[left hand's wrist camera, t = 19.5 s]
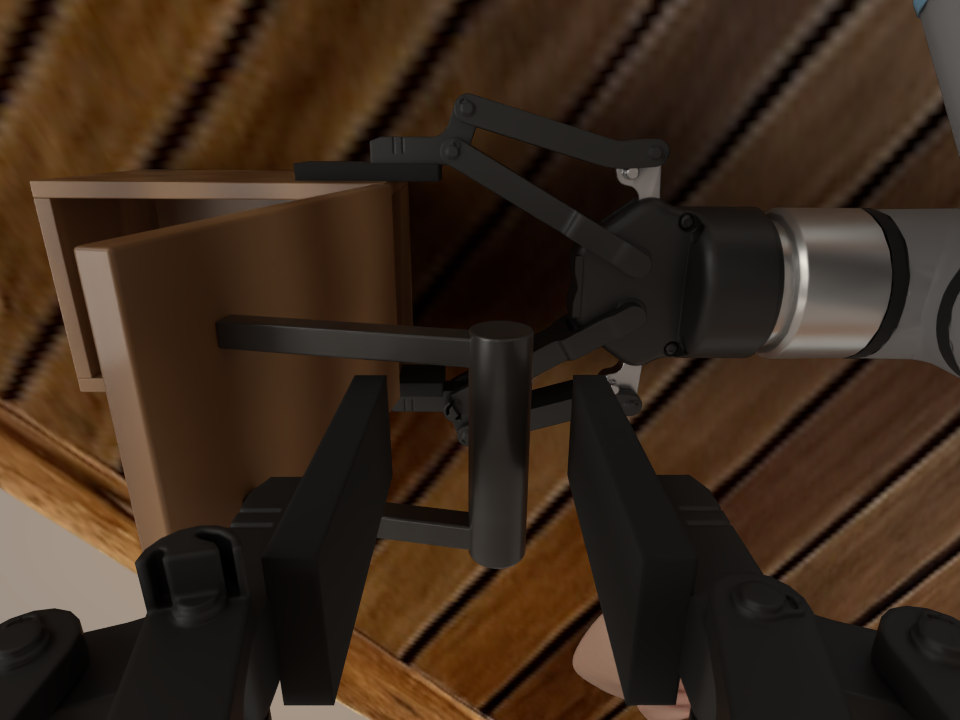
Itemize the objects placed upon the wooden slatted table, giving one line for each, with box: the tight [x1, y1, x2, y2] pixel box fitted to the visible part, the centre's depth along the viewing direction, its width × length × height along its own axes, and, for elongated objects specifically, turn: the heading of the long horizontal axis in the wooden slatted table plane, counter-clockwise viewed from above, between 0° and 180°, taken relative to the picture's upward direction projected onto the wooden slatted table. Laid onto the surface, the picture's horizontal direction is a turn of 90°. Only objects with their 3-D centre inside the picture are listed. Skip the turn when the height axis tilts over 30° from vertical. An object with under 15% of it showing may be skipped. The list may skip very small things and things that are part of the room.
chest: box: [30, 169, 413, 392], centre depth 32 cm, size 15×10×10 cm, turn 90°
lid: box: [74, 184, 534, 569], centre depth 20 cm, size 16×10×8 cm
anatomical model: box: [573, 614, 691, 720], centre depth 45 cm, size 13×4×12 cm
